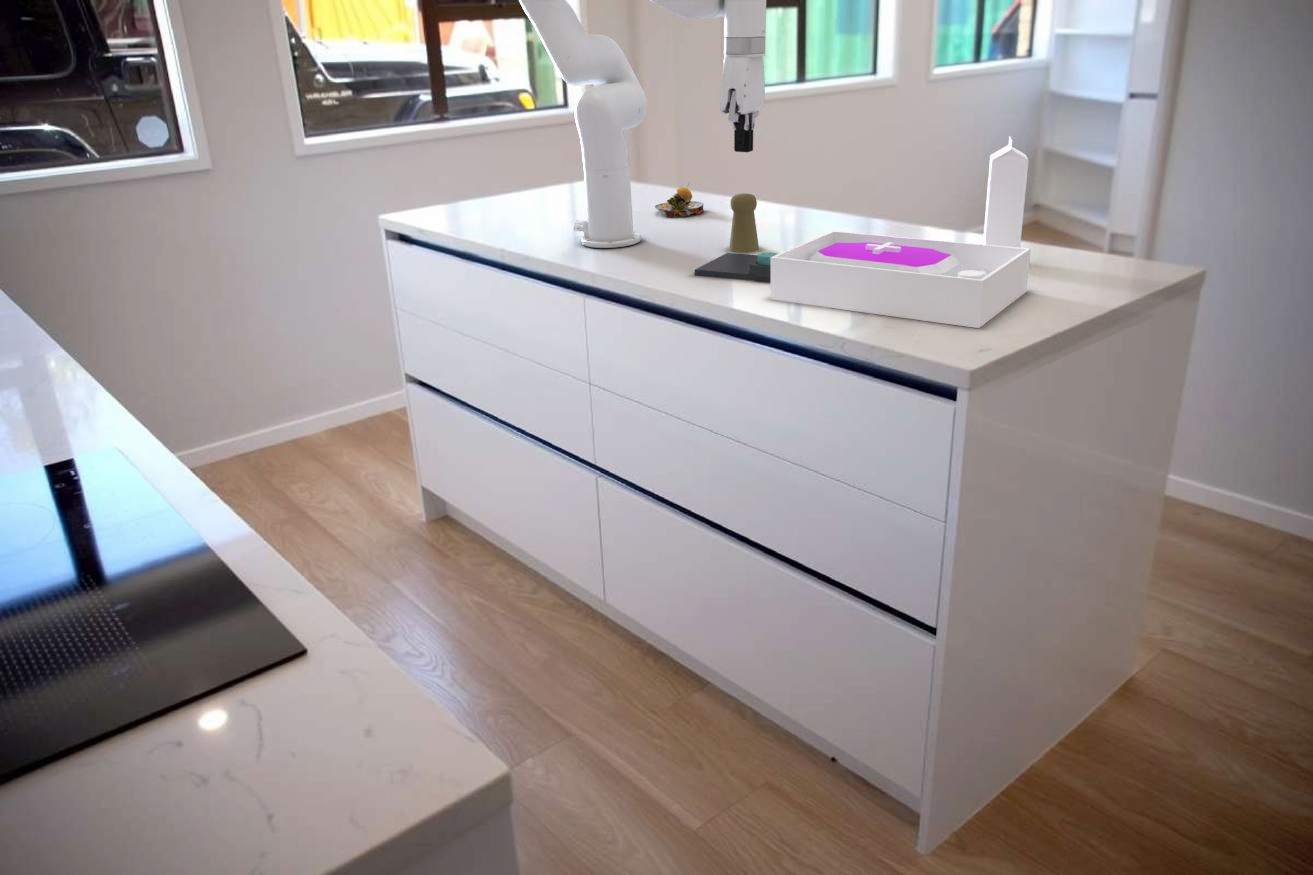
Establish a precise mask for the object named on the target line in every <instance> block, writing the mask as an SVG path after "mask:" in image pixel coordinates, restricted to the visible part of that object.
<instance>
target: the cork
mask: <svg viewBox="0 0 1313 875" xmlns="http://www.w3.org/2000/svg"><path fill="white" fill-rule="evenodd" d="M729 205H730V209H731V210H732V212H733V213H732V221H731V231H730V238H729V248H728V250H729V252H730V253H736V254H750V253H754V252H758V251H759V250H760V245H759V244H760V243H759V239H758V231H757V224H756V223H757V222H756V216H755V210H756V209H757V205H758V201H757V198H756V196H755V195H754V194H752V193H738V194H734V195H733V196H732V197H731V199H730V204H729Z"/></svg>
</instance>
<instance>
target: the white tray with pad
mask: <svg viewBox="0 0 1313 875" xmlns="http://www.w3.org/2000/svg"><path fill="white" fill-rule="evenodd" d="M1031 250H1032V249H1031V248H1028V247H1020V248H1017V247H1006V246H995V245H984V244H983V243H973V242H972V243H971V242H961V241H952V240H951V241H950V240H939V239H928V238H917V237H916V238H915V237H906V236H896V235H885V234H884V235H883V234H873V233H862V232H861V233H860V232H852V231H851V232H850V231H840V230H839V231H838V230H831V231H829V232H826V233H824V234H822V235H819V236H817V237H815V238H813V239H809V240H808V241H805V242H803V243H800V244H797V245H795V246H793V247H791V248H789V249H787V250H784V251H782V252H779V253H777V255H775V256H772V257H771V282H770V300H773V301H780V302H787V303H795V304H802V305H809V306H816V307H817V306H818V307H824V308H830V309H836V310H844V311H851V312H858V313H865V314H872V315H878V316H879V315H880V316H886V317H887V316H888V317H893V318H903V319H909V320H917V321H924V322H931V323H939V324H944V325H954V326H960V327H967V328H974V329H980V328H981V327H983V326H984V325H985V324H987V323H988V322H989V321H990V320H992V319H993V318H994V317H995V316H997V315H999V313H1001V312H1002V311H1004V310H1005V309H1006V308H1008V307H1009V306H1010V305H1011V304H1012V303H1014V302H1015V301H1017V300H1018V299H1019V298H1020V297H1022V296H1023V295H1025V293H1027V289H1028V279H1029V271H1030V270H1029V269H1030V260H1031Z"/></svg>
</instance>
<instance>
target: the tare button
mask: <svg viewBox="0 0 1313 875" xmlns="http://www.w3.org/2000/svg"><path fill="white" fill-rule="evenodd" d="M777 254H778V253H777V252H771V251H770V252H769V251H765V252H760V253H758V254H757V255H758V264H760V265H771V257H772V256H775V255H777Z"/></svg>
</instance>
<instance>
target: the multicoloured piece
mask: <svg viewBox="0 0 1313 875" xmlns="http://www.w3.org/2000/svg"><path fill="white" fill-rule="evenodd" d="M689 184H690V181H688V184H687V186H689ZM692 198H693V194H692V192H691V190H690V189H688V187H682V186H681V187H678V188H676V193H673V195H672V196H671V197H670V198H669V199H667V200H666V202H662V203H658V204H656V205H655V206H654V208H655V209H656V210H658V211H659V212H661V213H662V214H663V213H665V216H666V218H675V217H676V214H679V215H680V216H681V217H686V216H690V215H691V214H692V215H694V214H696V215H699V214H701V213H704V212H705V209H704V203H703V202H701V201H700V202H699V201H692Z"/></svg>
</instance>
